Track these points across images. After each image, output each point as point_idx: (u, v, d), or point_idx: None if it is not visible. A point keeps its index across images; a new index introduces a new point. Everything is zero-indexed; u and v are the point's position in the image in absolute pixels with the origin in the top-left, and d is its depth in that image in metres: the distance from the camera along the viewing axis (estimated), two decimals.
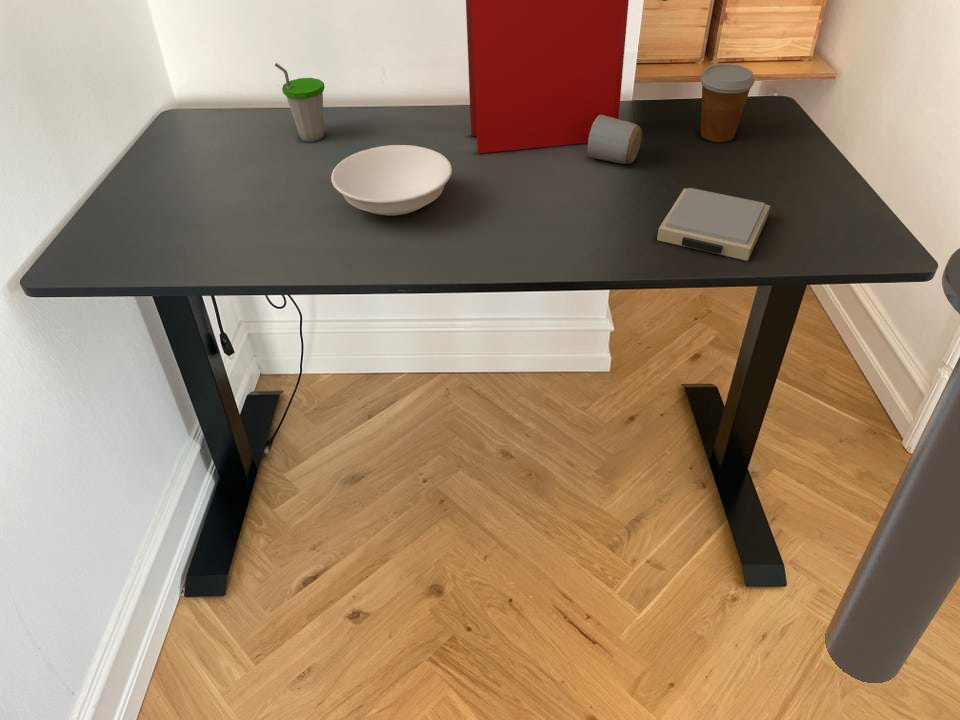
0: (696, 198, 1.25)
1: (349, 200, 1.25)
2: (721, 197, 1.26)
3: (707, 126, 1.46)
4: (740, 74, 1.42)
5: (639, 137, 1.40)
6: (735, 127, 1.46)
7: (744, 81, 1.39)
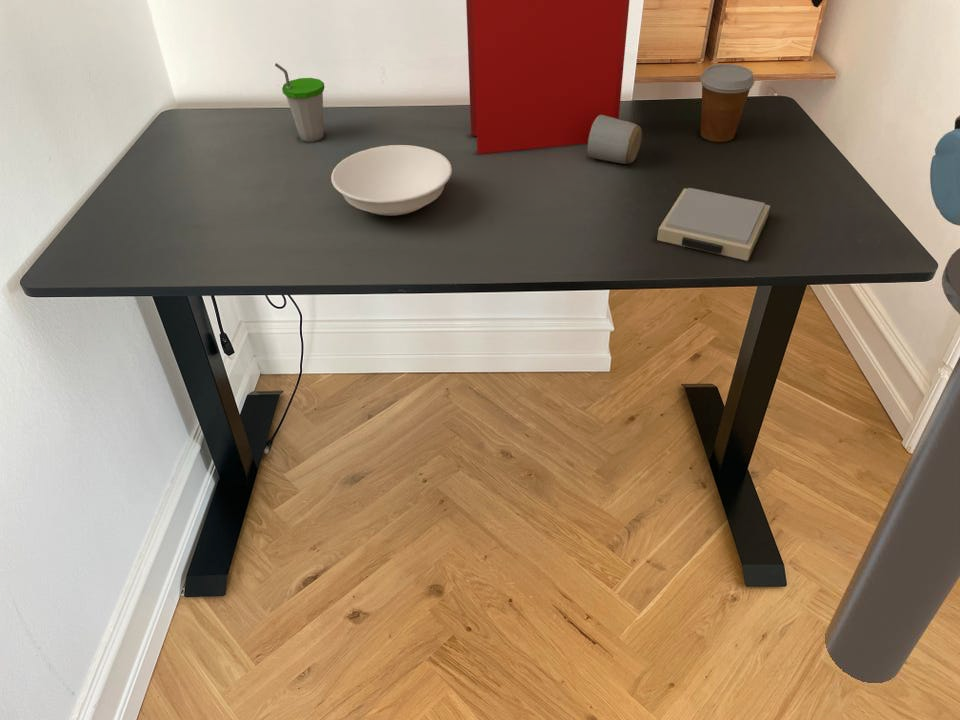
0: (696, 198, 1.25)
1: (349, 200, 1.25)
2: (721, 197, 1.26)
3: (707, 126, 1.46)
4: (740, 74, 1.42)
5: (639, 137, 1.40)
6: (735, 127, 1.46)
7: (744, 81, 1.39)
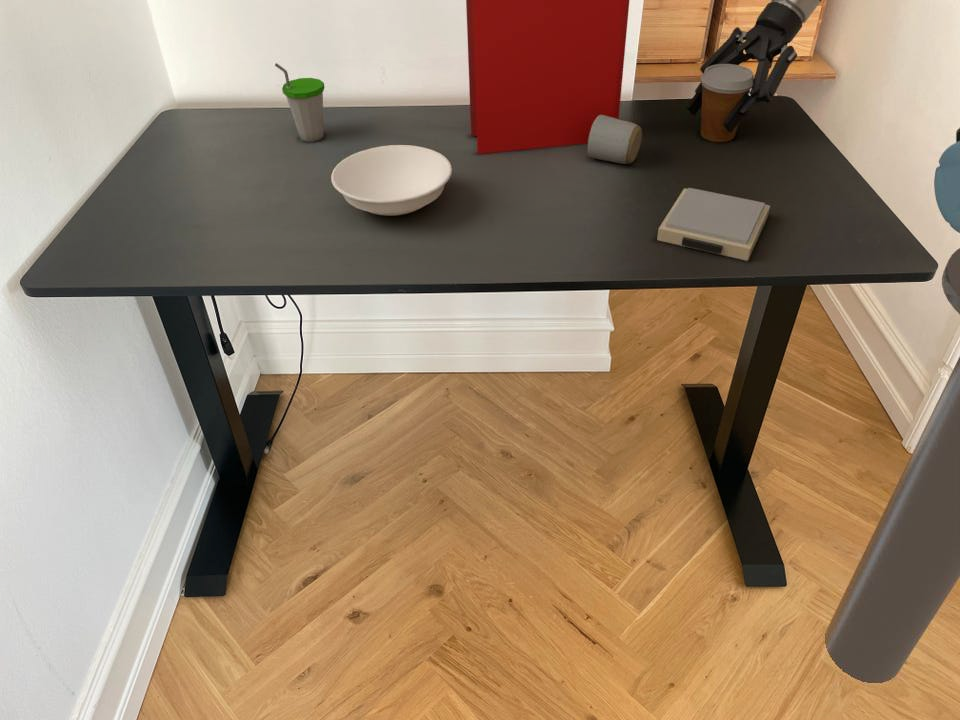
0: (696, 198, 1.25)
1: (349, 200, 1.25)
2: (721, 197, 1.26)
3: (707, 126, 1.46)
4: (740, 74, 1.42)
5: (639, 137, 1.40)
6: (735, 127, 1.46)
7: (744, 81, 1.39)
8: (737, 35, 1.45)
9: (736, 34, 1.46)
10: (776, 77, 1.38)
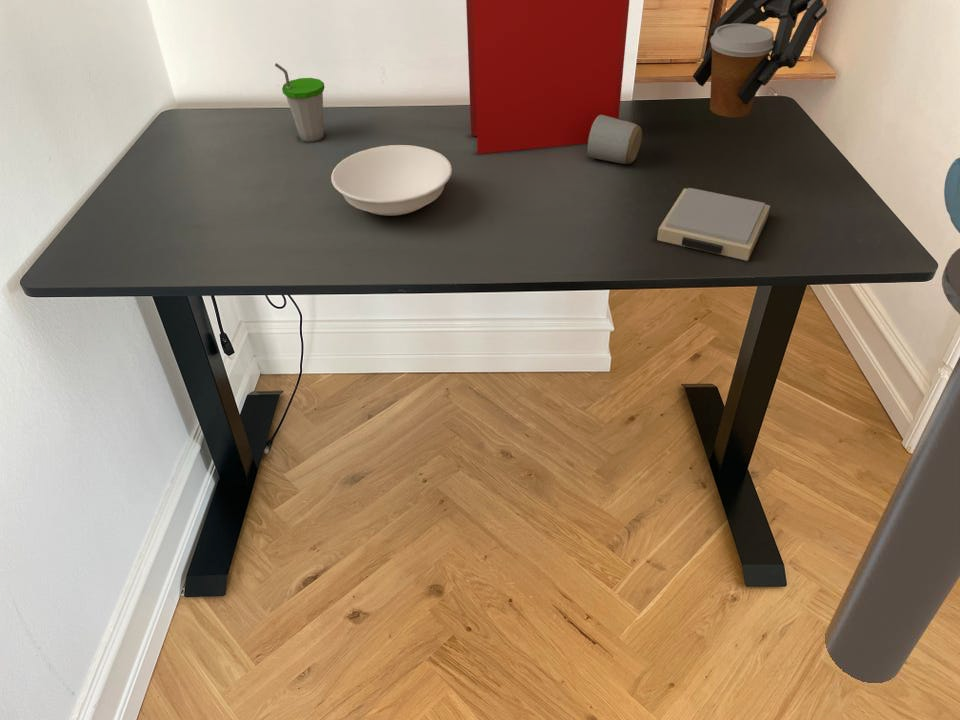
0: (696, 198, 1.25)
1: (349, 200, 1.25)
2: (721, 197, 1.26)
3: (717, 98, 1.23)
4: (758, 35, 1.18)
5: (639, 137, 1.40)
6: (751, 99, 1.22)
7: (763, 42, 1.15)
8: None
9: None
10: (801, 37, 1.15)
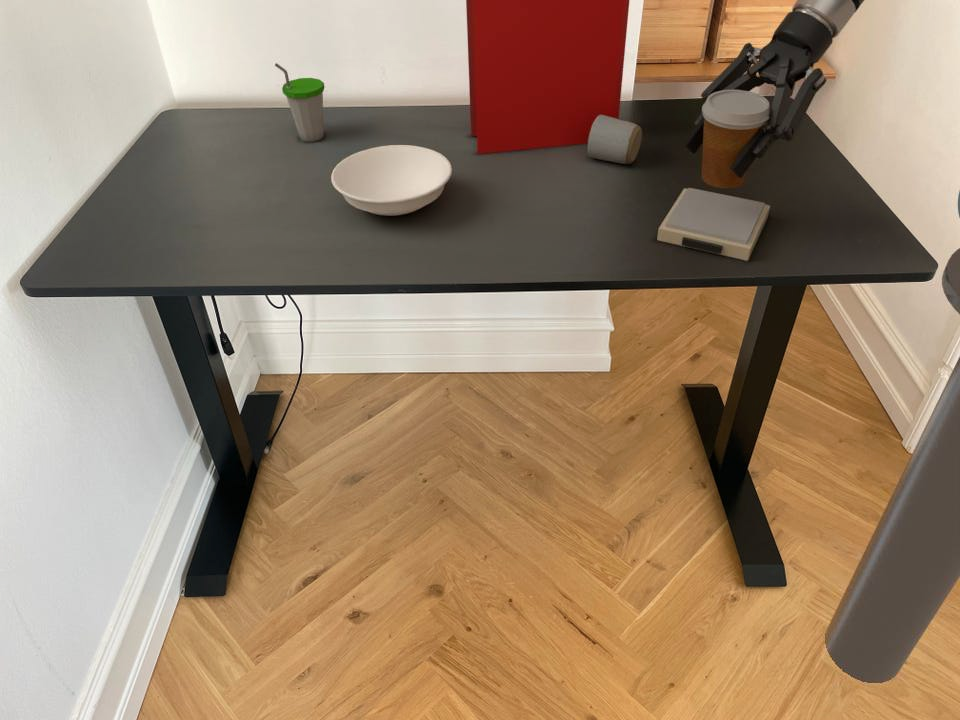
0: (696, 198, 1.25)
1: (349, 200, 1.25)
2: (721, 197, 1.26)
3: (709, 168, 1.15)
4: (752, 104, 1.10)
5: (639, 137, 1.40)
6: None
7: (758, 114, 1.08)
8: (748, 53, 1.14)
9: (747, 52, 1.14)
10: (799, 109, 1.07)
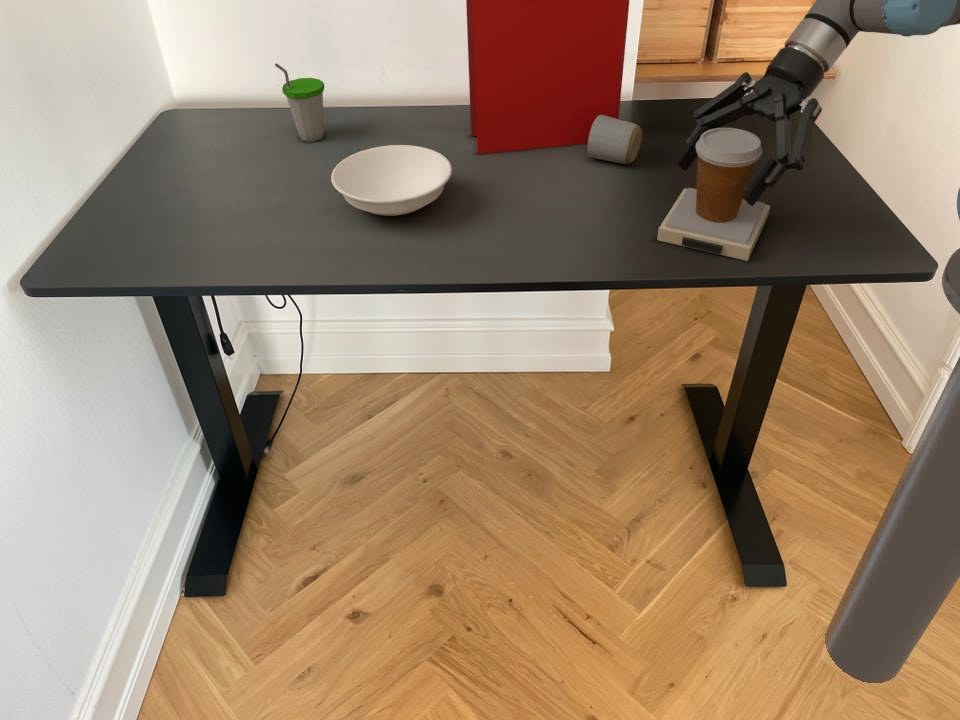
0: None
1: (349, 200, 1.25)
2: None
3: (703, 203, 1.19)
4: (744, 142, 1.14)
5: (639, 137, 1.40)
6: (738, 205, 1.18)
7: (750, 152, 1.11)
8: (744, 83, 1.17)
9: (743, 81, 1.18)
10: (805, 138, 1.09)
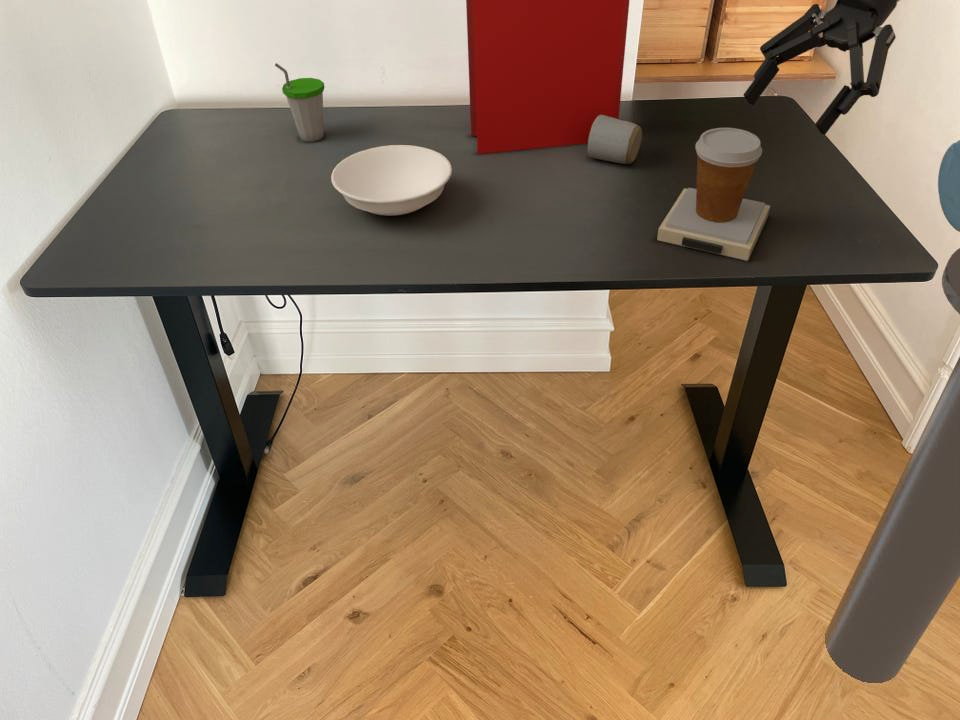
0: None
1: (349, 200, 1.25)
2: None
3: (703, 203, 1.19)
4: (744, 142, 1.14)
5: (639, 137, 1.40)
6: (738, 205, 1.18)
7: (750, 152, 1.11)
8: (813, 14, 1.18)
9: (813, 13, 1.18)
10: (880, 64, 1.09)
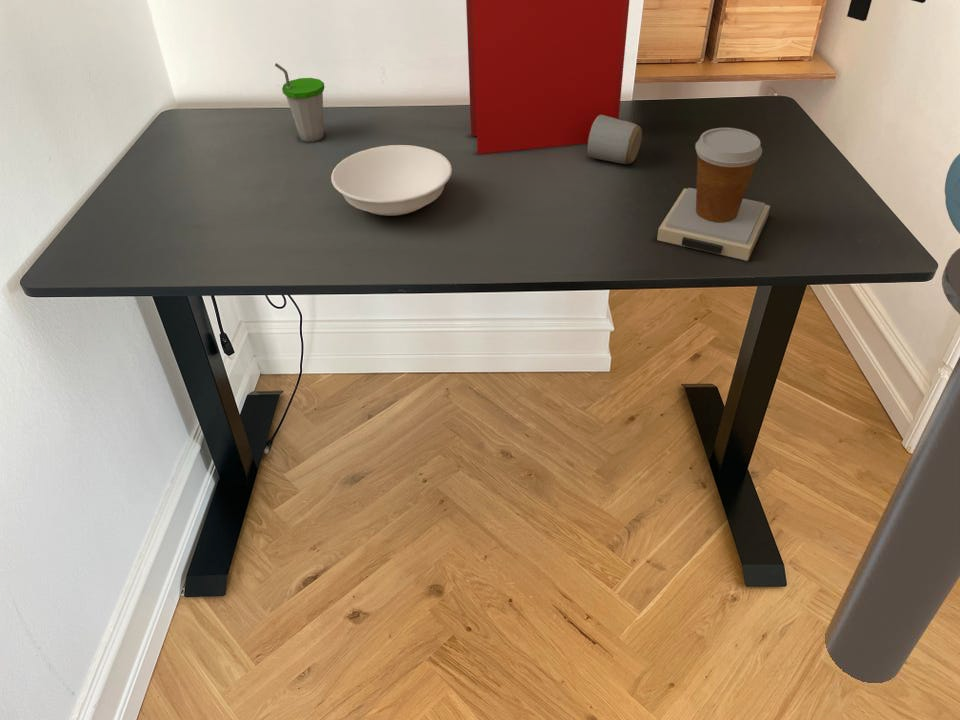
0: None
1: (349, 200, 1.25)
2: None
3: (703, 203, 1.19)
4: (744, 142, 1.14)
5: (639, 137, 1.40)
6: (738, 205, 1.18)
7: (750, 152, 1.11)
8: None
9: None
10: None
